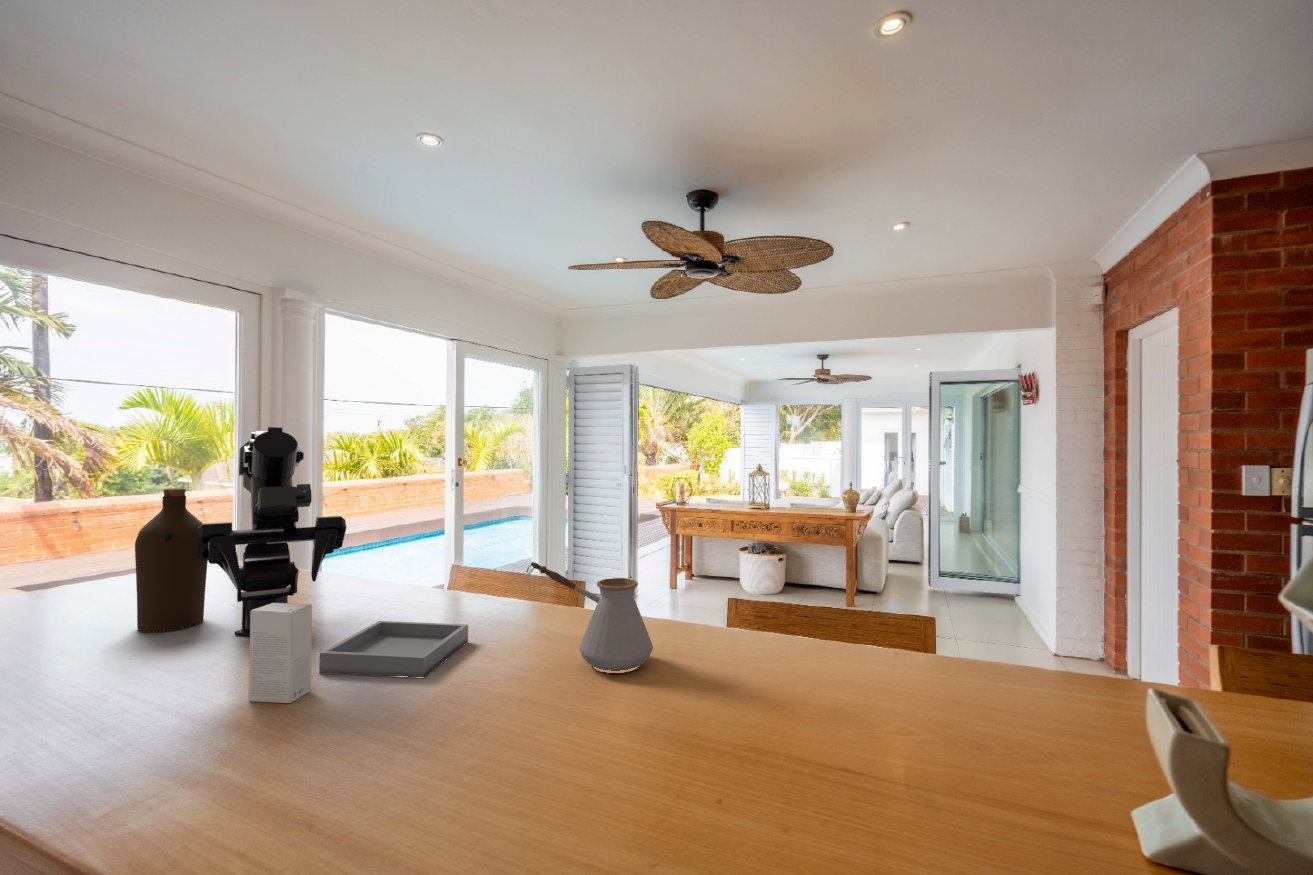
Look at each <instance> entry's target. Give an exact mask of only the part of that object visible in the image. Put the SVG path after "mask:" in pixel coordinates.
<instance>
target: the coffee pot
mask: <svg viewBox="0 0 1313 875" xmlns="http://www.w3.org/2000/svg"><path fill="white" fill-rule="evenodd" d="M531 567H532V568H531ZM530 568H531V570H530V571H529V569H530ZM534 570H538V571H539V572H540V574H545V575H546V576H547V577H549V578H550V579H552V581H554V582H557V583H558V584H561V585H562V586H565V587H567V588H569V589H570V590H571V589H572V590H575V591H576V592H577V593H579V594H581V595H583V596H584V597H586V598H588V599H590V600H591V601H594V602H595V603H597V604H596V606H595V608H594V611H593V614H592V615H591V618H590V620H589V622H588V624H587V627H586V630H585V632H584V634H583V636H582V638H581V641H580V643H579V652H580V655H581V656H582V658H583V659H584V661H585V662H586V663H587V664H588V665H590V666H591V665H592V666H594V667H596V668H599V669H603V670H611V671H620V670H628V669H631V668H635V667H637V666H639V665H640V666H642V664H644V663H646V661H647V660H648V659H649V658H650V656H651V653H652V652H653V650H654V646H653V643H652V640H651V638H650V637H651V636H650V634H649V633H648V630H647V628H646V624H645V622H644V619H643V616H642V614H641V612H640V609H639V607H638V604H637V602H636V600H635V597H634V594H635V589H636V588H637V586H638V582H637V581H636V580H634V579H630V578H626V577H615V578H614V577H613V578H612V577H611V578H603V579H601V580H598V581H597V582H596V586H597V587H598V588H599V592H600V596H599V595H596V594H594V593H592V592H591V591H588V590H586V589H585V588H582V587H581V586H578V585H577V584H576V583H574V582H573V581H571V580H569V579H568V578H567V577H565V576H563V575H561V574H560V573H558V572H556V571H553V570H551V569H548V568H547V567H546V566H545V565H541V564H539V563H537V562H534V561H532V562H531V563H530V564H529V565H528V567H527V569H526V573H527V574H531V573H533V571H534Z"/></svg>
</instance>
